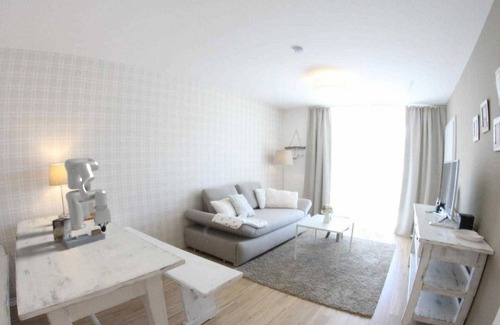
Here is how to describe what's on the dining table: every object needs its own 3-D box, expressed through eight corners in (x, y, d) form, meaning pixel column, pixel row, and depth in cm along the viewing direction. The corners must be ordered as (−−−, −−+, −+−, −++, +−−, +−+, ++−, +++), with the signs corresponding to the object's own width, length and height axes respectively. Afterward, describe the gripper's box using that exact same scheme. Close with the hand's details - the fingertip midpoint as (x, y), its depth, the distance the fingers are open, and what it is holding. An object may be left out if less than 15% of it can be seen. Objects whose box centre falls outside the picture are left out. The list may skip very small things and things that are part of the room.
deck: (63, 243, 168) (62, 237, 168) (98, 233, 184) (98, 228, 184) (68, 249, 158) (67, 243, 157) (105, 238, 174) (105, 233, 174)
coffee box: (53, 242, 170) (51, 220, 169) (61, 238, 176) (59, 217, 175) (65, 242, 169) (63, 220, 168) (72, 239, 176) (70, 217, 174)
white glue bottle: (96, 217, 229) (94, 195, 228) (96, 218, 224) (94, 196, 223) (78, 220, 221) (76, 198, 220) (78, 221, 216) (76, 199, 215)
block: (91, 235, 174) (91, 230, 174) (99, 233, 177) (98, 228, 177) (93, 236, 170) (93, 232, 170) (101, 234, 174) (101, 229, 174)
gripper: (91, 210, 167) (93, 236, 169) (114, 205, 178) (116, 229, 180) (88, 208, 172) (90, 233, 174) (110, 204, 183) (112, 227, 185)
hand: (103, 231), depth 177 cm, fingers closed
